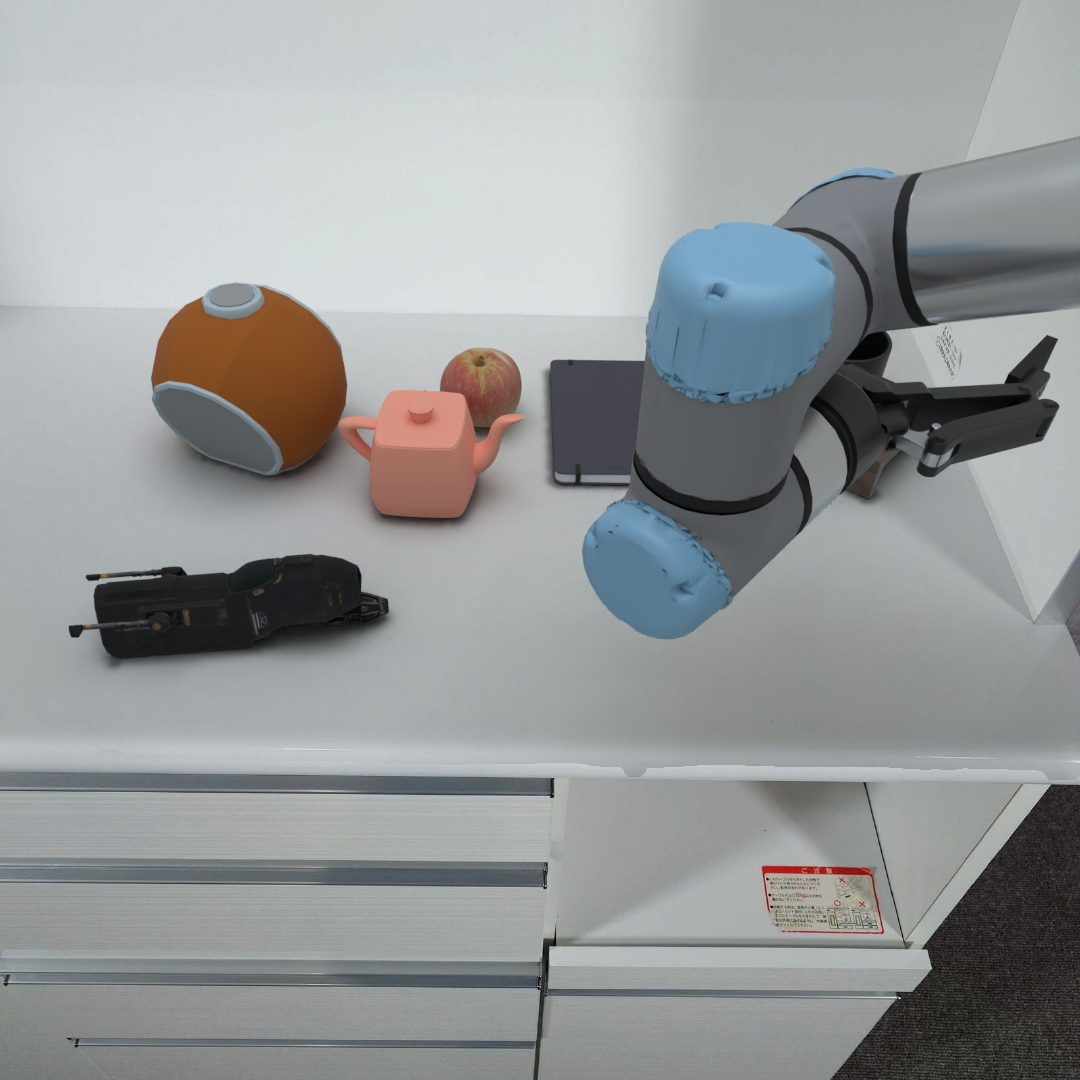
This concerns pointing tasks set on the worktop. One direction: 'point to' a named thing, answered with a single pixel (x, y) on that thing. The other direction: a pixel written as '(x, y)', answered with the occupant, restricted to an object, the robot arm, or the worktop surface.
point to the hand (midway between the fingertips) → (949, 317)
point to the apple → (484, 383)
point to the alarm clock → (250, 378)
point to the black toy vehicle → (226, 604)
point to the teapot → (424, 452)
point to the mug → (872, 353)
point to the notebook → (594, 420)
